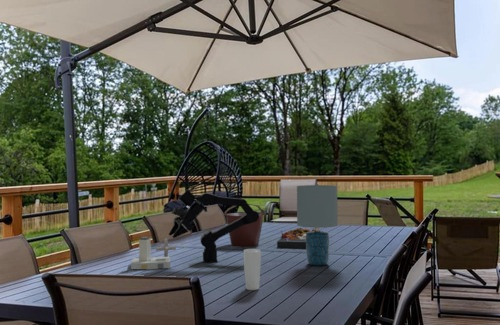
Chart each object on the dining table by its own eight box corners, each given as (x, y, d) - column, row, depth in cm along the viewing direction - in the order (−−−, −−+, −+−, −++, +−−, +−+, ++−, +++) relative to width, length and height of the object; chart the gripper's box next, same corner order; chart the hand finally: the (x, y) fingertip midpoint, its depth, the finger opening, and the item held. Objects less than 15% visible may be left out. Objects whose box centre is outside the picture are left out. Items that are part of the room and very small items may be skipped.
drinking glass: (260, 286, 191) (260, 248, 192) (261, 291, 185) (261, 251, 185) (243, 286, 191) (243, 248, 191) (243, 291, 184) (243, 251, 185)
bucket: (266, 242, 305) (265, 202, 305) (263, 248, 283) (263, 205, 283) (227, 242, 307) (227, 202, 307) (221, 247, 285) (221, 205, 285)
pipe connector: (157, 260, 248) (157, 240, 248) (155, 256, 258) (155, 238, 258) (176, 259, 251) (176, 239, 251) (174, 255, 260) (174, 237, 260)
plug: (150, 265, 234) (150, 236, 235) (147, 267, 230) (146, 238, 231) (142, 265, 235) (142, 236, 235) (139, 267, 231) (139, 237, 231)
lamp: (290, 262, 240) (290, 185, 240) (325, 259, 246) (324, 184, 247) (309, 269, 222) (308, 187, 222) (345, 266, 228) (344, 186, 229)
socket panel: (170, 262, 242) (170, 256, 242) (170, 268, 228) (170, 262, 228) (133, 264, 239) (133, 258, 239) (130, 270, 225) (130, 263, 225)
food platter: (319, 250, 278) (319, 232, 278) (277, 248, 283) (277, 231, 284) (325, 238, 321) (325, 223, 322) (289, 237, 327) (289, 222, 327)
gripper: (177, 200, 250) (156, 223, 246) (185, 203, 232) (163, 227, 228) (192, 215, 252) (171, 237, 248) (202, 218, 235) (179, 243, 231)
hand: (171, 236), depth 239 cm, fingers open, 9 cm apart
